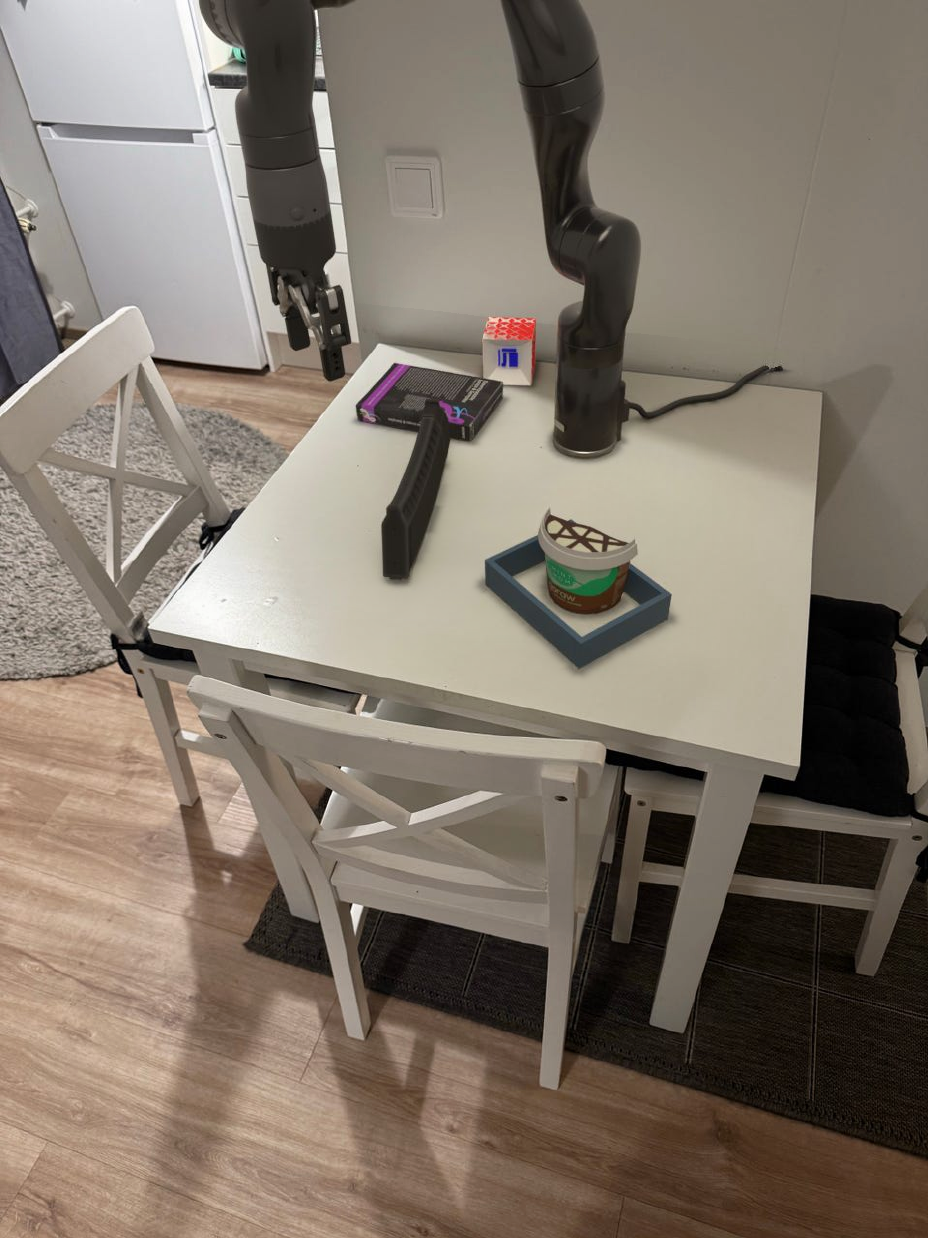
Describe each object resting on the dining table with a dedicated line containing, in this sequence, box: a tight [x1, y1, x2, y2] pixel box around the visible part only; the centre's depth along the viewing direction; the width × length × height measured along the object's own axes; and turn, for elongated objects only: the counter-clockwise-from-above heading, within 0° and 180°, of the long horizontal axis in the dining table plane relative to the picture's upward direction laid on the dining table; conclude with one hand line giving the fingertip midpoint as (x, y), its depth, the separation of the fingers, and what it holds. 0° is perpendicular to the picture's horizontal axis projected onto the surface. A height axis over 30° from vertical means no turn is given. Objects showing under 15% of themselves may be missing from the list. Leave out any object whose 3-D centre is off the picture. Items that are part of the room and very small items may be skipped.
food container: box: [537, 507, 639, 615], centre depth 107 cm, size 12×6×10 cm, turn 55°
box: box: [354, 362, 504, 443], centre depth 143 cm, size 14×4×20 cm
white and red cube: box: [481, 316, 537, 386], centre depth 150 cm, size 8×8×8 cm
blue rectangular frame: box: [484, 518, 673, 669], centre depth 109 cm, size 14×18×4 cm
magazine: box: [380, 399, 452, 581], centre depth 120 cm, size 17×3×30 cm
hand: (317, 362), depth 98 cm, fingers open, 8 cm apart
